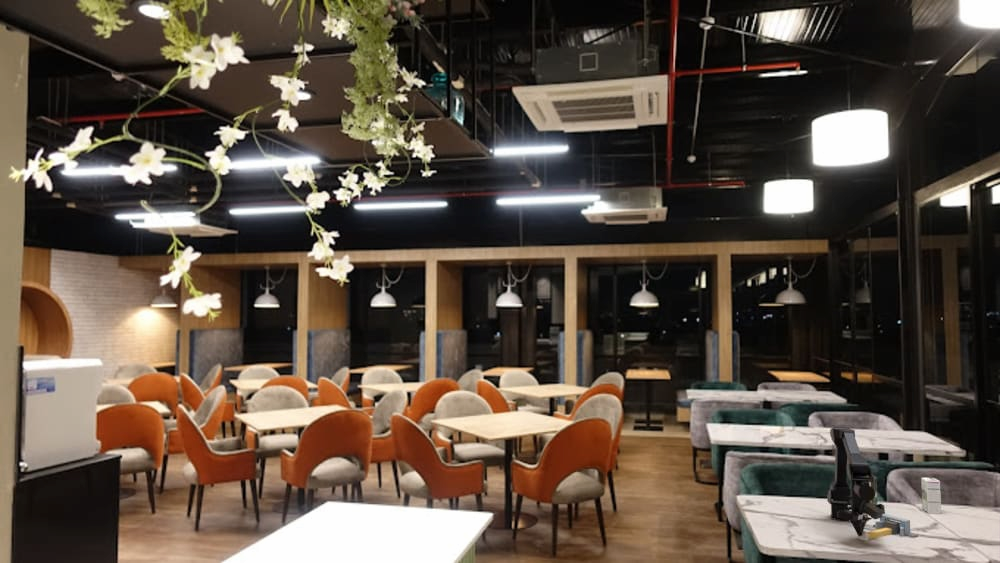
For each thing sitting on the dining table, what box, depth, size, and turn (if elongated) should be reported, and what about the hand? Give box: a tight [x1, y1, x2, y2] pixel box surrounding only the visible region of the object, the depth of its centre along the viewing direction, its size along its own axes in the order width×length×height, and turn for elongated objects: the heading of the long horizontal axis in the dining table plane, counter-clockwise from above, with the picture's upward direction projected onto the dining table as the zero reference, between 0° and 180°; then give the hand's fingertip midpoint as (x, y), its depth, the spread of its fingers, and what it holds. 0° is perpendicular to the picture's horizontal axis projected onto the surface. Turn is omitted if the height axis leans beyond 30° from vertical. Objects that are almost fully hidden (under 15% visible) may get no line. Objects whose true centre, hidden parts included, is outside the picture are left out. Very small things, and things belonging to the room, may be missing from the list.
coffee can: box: [867, 475, 878, 505], centre depth 300 cm, size 10×10×14 cm
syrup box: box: [920, 477, 942, 515], centre depth 294 cm, size 6×6×14 cm
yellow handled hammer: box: [857, 520, 900, 541], centre depth 259 cm, size 22×4×4 cm, turn 119°
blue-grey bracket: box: [872, 513, 919, 538], centre depth 264 cm, size 6×16×5 cm, turn 29°
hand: (859, 535), depth 253 cm, fingers closed
